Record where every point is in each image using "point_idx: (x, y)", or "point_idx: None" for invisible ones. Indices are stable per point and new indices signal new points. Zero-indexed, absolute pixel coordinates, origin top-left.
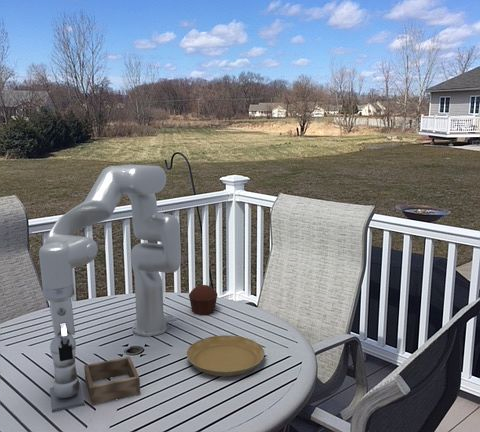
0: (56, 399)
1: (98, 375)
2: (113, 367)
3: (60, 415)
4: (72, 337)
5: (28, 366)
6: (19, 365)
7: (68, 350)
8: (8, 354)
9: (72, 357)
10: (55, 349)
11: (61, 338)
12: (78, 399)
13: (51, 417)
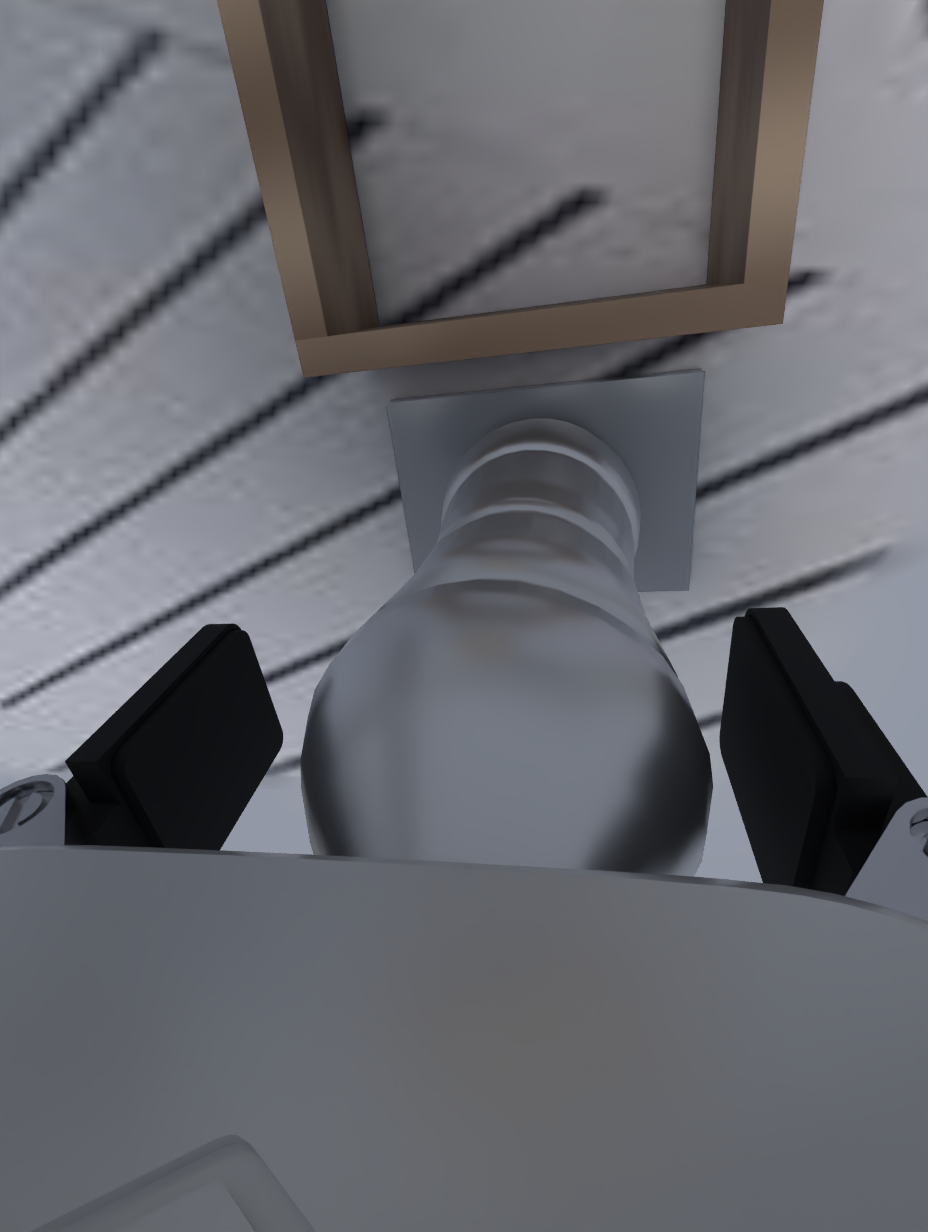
0: None
1: (348, 236)
2: (293, 33)
3: (748, 535)
4: (489, 727)
5: (138, 684)
6: None
7: (898, 771)
8: (24, 757)
9: (785, 617)
10: None
11: None
12: (640, 418)
13: (741, 585)
